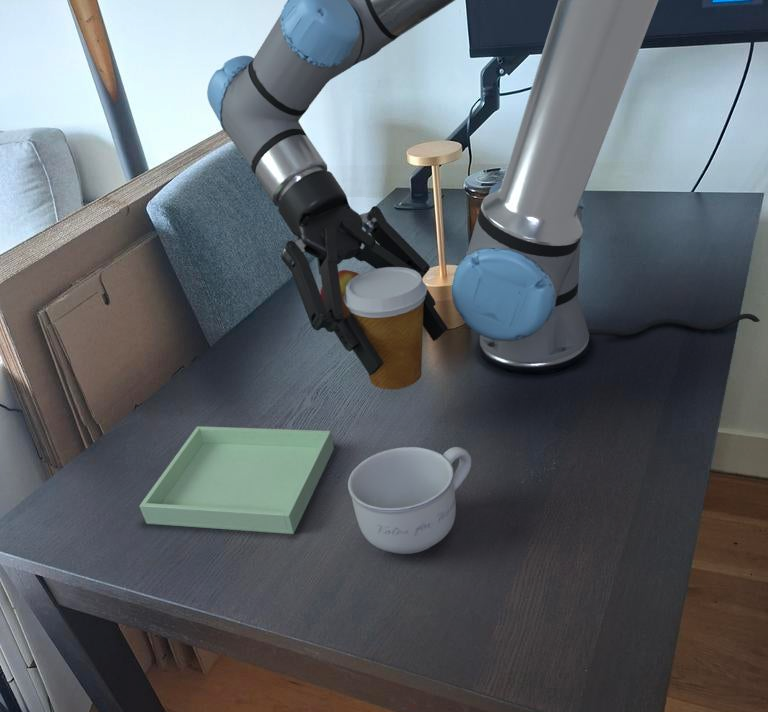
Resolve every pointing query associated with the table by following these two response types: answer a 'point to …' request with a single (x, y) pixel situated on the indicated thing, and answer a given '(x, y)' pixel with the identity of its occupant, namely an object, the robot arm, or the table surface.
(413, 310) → the disposable coffee cup
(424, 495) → the teacup
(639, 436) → the table surface
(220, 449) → the tray
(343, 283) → the apple
